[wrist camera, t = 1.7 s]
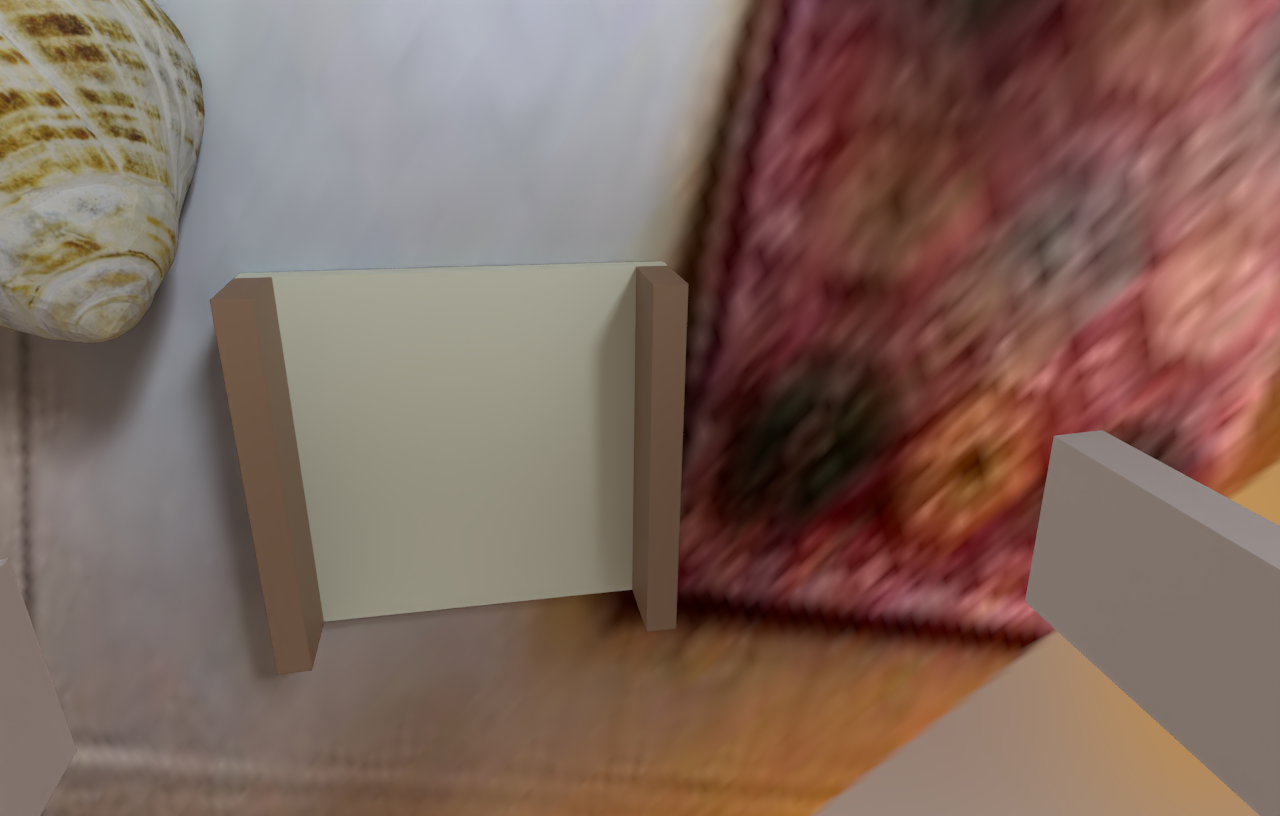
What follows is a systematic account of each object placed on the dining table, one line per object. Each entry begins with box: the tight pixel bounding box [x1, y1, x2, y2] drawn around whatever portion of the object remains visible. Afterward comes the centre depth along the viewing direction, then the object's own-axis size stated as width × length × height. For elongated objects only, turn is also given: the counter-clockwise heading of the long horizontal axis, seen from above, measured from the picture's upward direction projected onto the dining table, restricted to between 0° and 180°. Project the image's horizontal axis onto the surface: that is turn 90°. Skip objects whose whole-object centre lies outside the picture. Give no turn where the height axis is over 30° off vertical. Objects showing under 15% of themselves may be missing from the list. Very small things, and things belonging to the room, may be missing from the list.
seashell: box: [0, 0, 205, 343], centre depth 24 cm, size 10×10×10 cm
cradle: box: [210, 261, 688, 674], centre depth 31 cm, size 14×15×4 cm
